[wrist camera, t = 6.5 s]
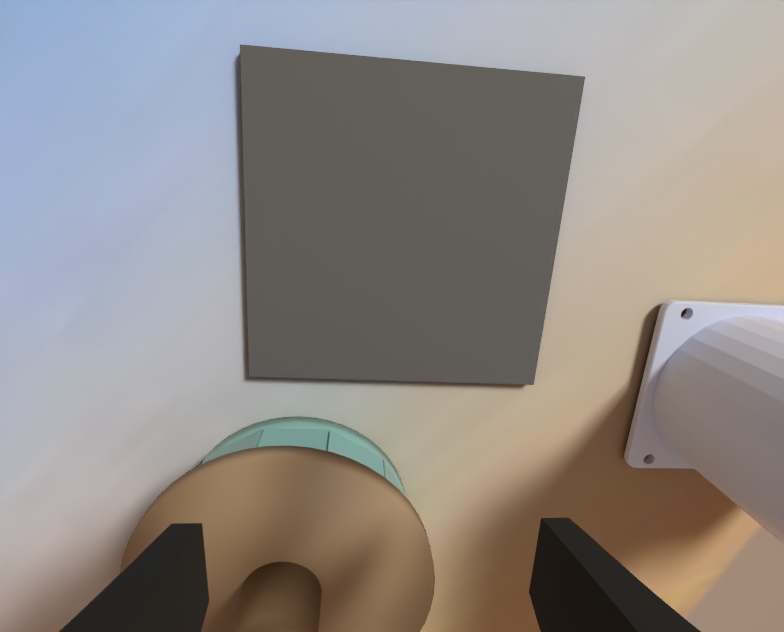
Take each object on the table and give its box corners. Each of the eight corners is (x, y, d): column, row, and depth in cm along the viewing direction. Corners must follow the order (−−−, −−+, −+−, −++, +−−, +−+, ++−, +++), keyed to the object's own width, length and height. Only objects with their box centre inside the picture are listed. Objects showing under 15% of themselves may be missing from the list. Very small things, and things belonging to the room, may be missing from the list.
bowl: (414, 419, 20) (427, 475, 16) (398, 595, 22) (406, 680, 19) (179, 414, 19) (134, 473, 15) (193, 598, 22) (158, 687, 18)
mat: (579, 79, 16) (584, 76, 16) (530, 380, 20) (533, 384, 19) (242, 48, 15) (239, 44, 15) (251, 372, 18) (248, 376, 18)
